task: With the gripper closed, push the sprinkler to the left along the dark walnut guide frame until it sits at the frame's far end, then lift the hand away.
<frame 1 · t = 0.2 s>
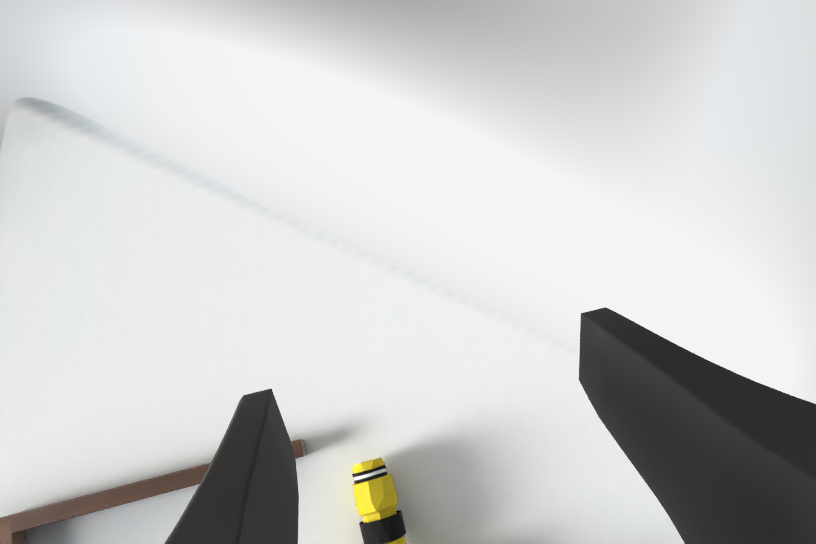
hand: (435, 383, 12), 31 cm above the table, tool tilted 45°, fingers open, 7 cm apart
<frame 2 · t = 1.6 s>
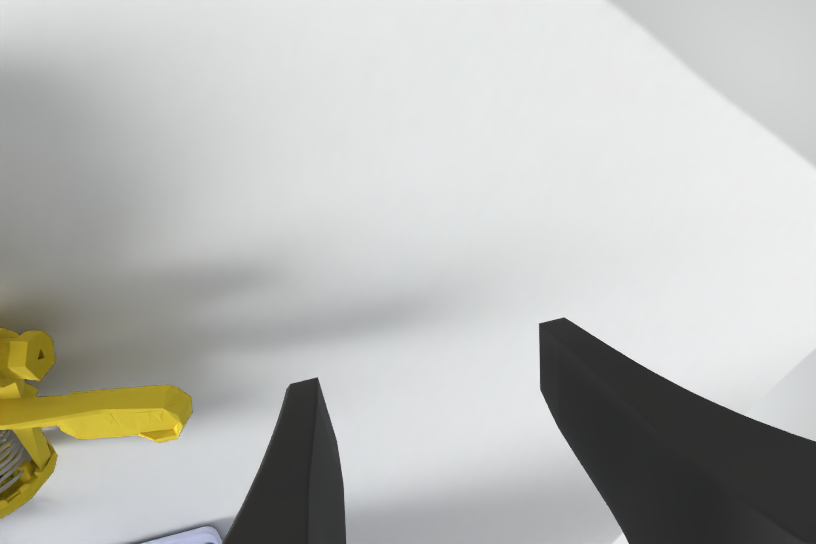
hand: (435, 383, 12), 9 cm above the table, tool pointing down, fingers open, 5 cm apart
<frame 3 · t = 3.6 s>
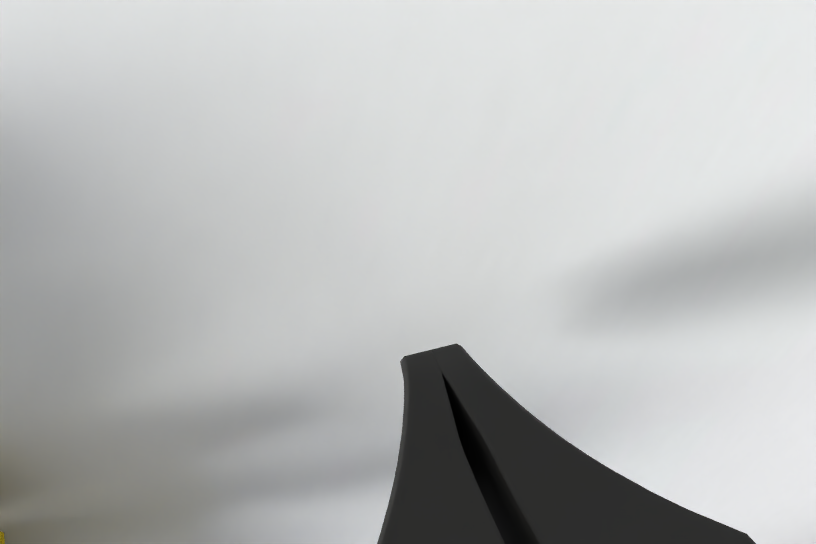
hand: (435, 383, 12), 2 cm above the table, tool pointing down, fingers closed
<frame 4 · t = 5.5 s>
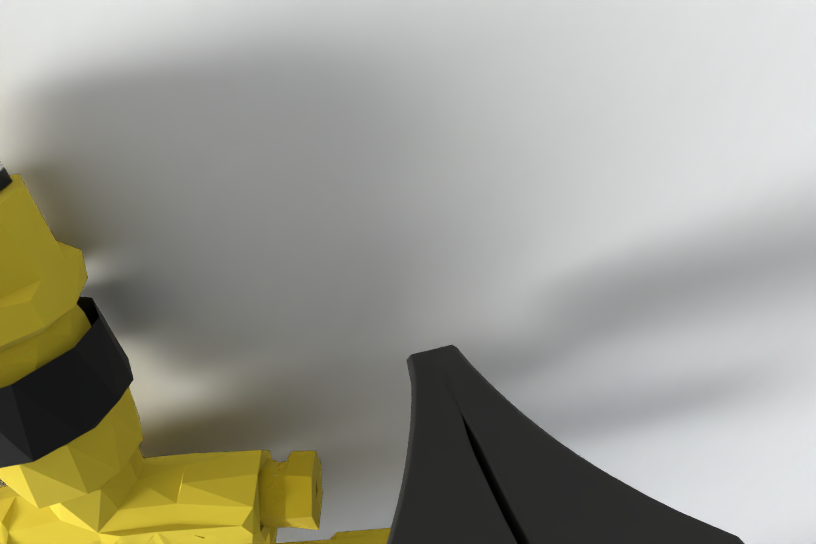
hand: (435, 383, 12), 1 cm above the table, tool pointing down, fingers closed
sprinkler: (60, 428, 13), on the table, touching gripper
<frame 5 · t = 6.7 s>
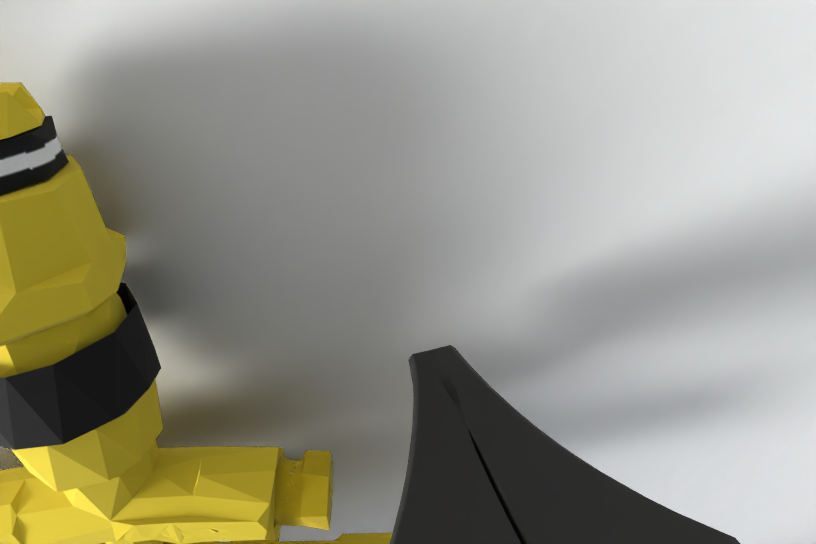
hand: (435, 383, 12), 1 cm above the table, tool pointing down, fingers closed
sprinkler: (69, 413, 13), on the table, touching gripper
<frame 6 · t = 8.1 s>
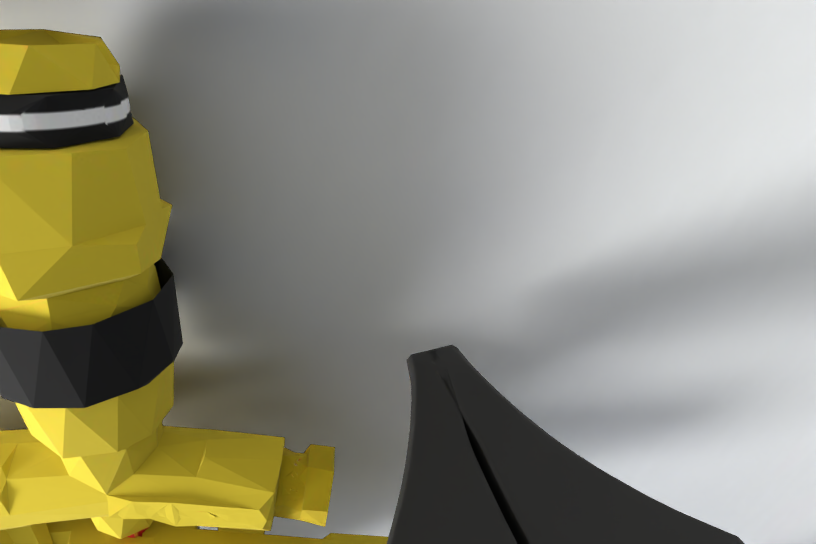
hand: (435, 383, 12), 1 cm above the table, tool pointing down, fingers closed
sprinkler: (65, 380, 12), on the table, touching gripper
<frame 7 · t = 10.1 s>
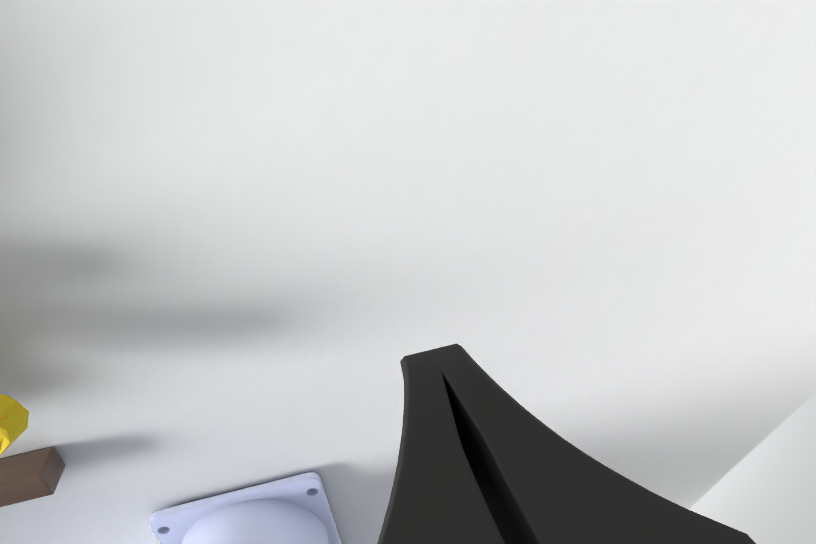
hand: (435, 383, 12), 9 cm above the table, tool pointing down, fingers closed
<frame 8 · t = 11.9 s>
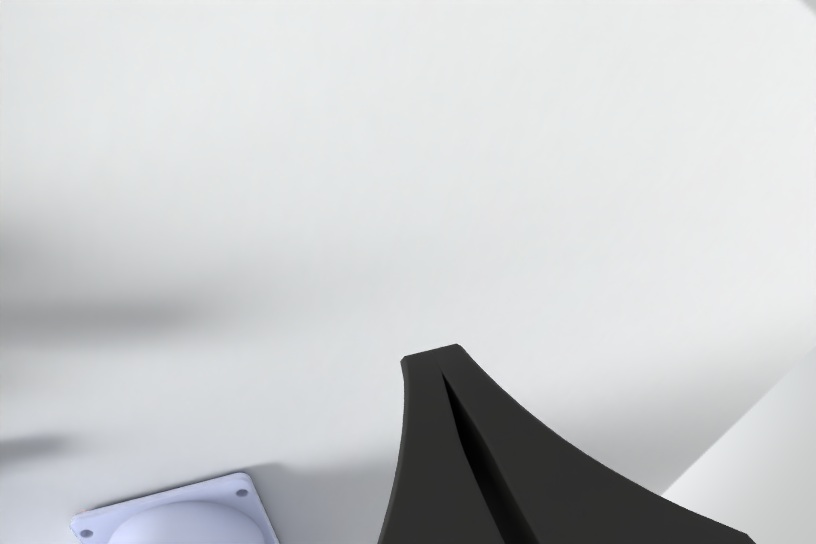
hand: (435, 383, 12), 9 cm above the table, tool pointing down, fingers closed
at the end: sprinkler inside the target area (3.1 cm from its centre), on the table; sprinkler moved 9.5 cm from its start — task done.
